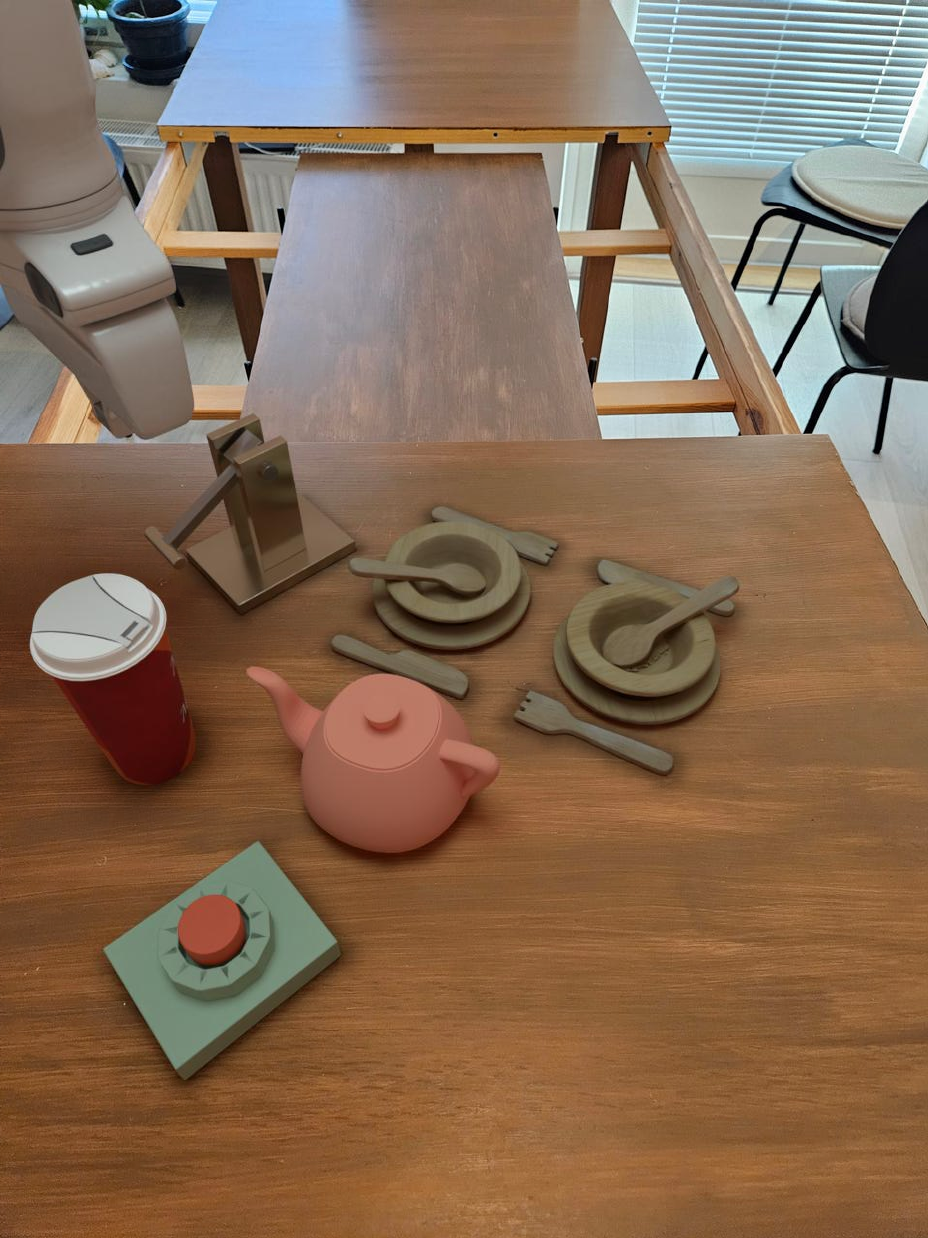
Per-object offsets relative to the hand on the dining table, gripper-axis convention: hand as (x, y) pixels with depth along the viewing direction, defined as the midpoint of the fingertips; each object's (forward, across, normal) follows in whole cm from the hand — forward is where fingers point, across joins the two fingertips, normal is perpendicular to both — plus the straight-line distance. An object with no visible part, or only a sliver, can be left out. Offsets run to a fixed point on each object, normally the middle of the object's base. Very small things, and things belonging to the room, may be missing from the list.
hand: (118, 426), depth 62 cm
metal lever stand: (+18, 0, +10) cm, 20 cm away
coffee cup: (+18, +12, -8) cm, 24 cm away
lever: (+10, 0, +6) cm, 12 cm away
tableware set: (+18, +22, +22) cm, 36 cm away
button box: (+18, +29, -12) cm, 37 cm away
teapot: (+18, +25, +2) cm, 31 cm away
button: (+15, +29, -13) cm, 35 cm away
